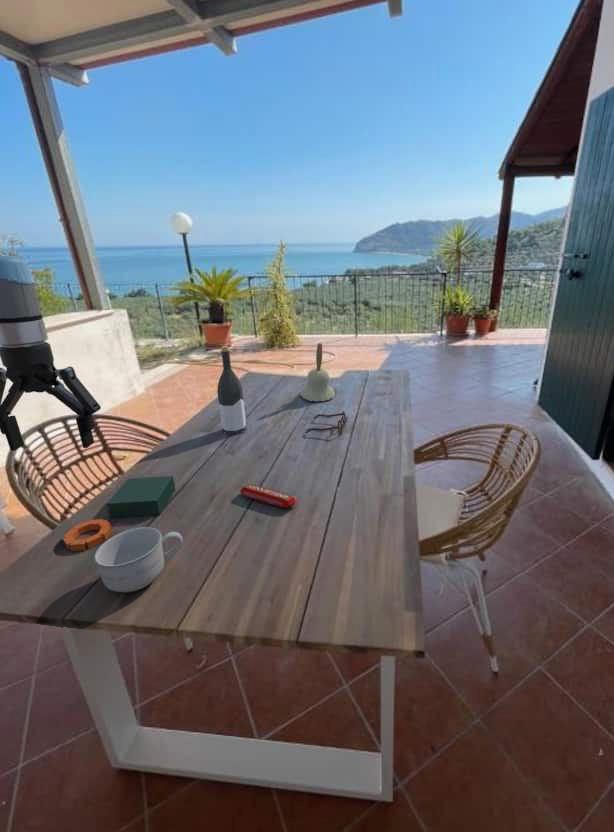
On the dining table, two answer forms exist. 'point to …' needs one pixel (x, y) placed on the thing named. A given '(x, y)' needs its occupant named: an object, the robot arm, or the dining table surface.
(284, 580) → the dining table surface
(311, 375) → the handbell
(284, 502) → the candy bar
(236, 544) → the dining table surface
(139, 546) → the teacup
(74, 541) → the ring
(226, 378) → the wine bottle
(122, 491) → the block
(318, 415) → the glasses
